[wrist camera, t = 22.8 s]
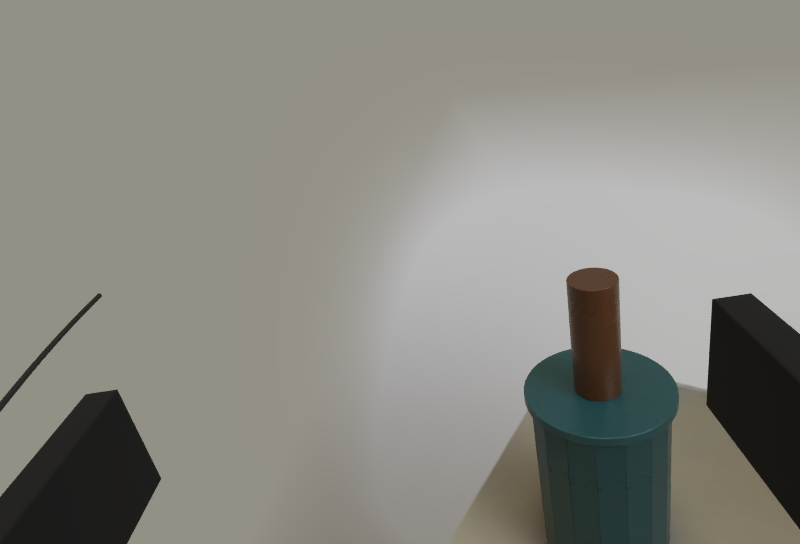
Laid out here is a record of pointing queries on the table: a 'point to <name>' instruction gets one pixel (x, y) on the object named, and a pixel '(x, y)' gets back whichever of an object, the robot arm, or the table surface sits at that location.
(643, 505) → the teal pencil holder
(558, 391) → the lid
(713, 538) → the table surface
